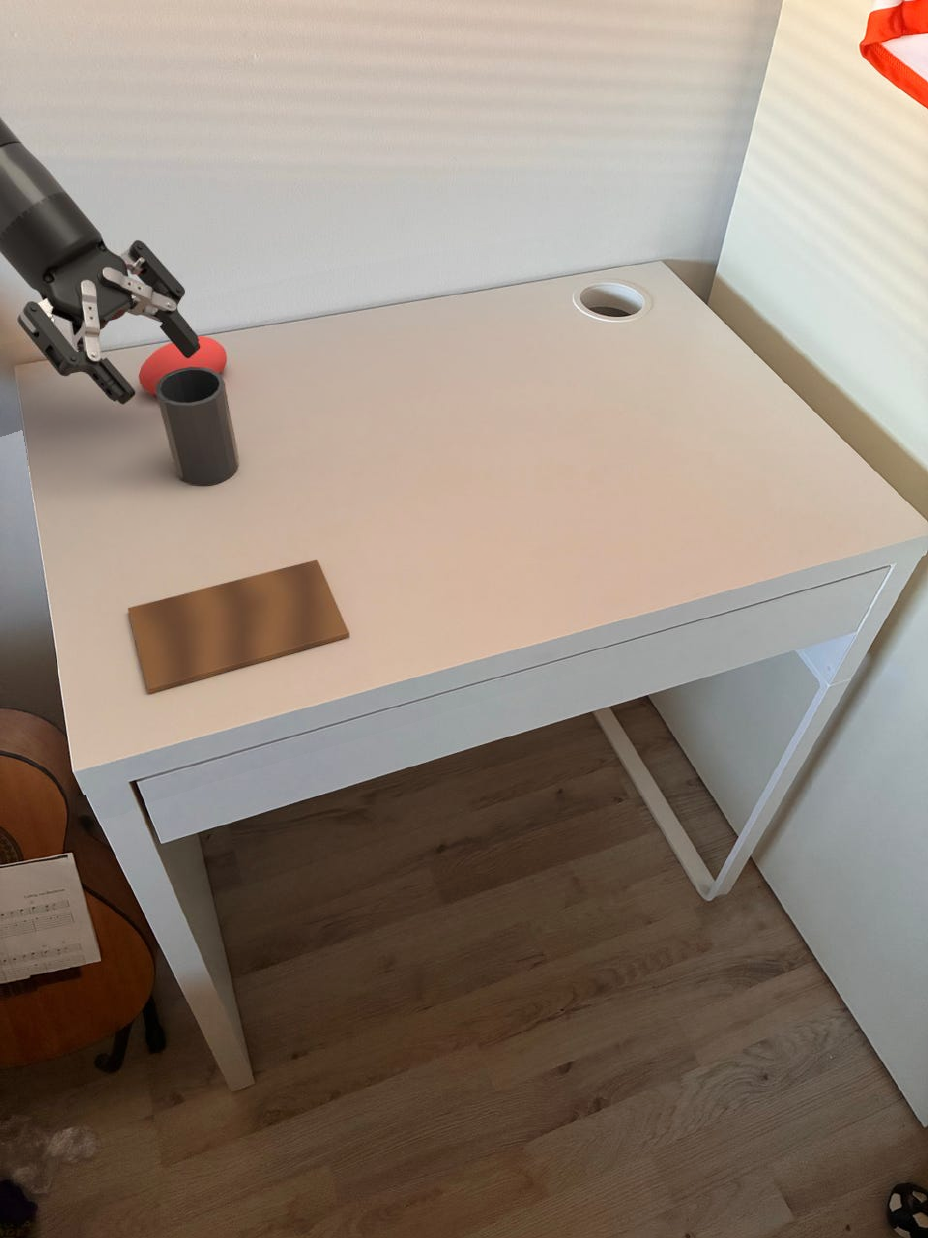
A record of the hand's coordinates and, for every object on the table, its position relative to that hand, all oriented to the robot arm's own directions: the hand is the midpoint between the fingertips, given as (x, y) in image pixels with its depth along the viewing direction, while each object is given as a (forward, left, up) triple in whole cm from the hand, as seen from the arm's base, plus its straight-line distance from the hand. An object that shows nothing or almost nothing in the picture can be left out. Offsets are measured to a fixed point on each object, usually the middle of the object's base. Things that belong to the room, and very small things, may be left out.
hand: (163, 375), depth 85 cm
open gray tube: (+2, -2, -9) cm, 9 cm away
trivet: (0, -23, -9) cm, 25 cm away
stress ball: (+3, +12, -9) cm, 15 cm away
